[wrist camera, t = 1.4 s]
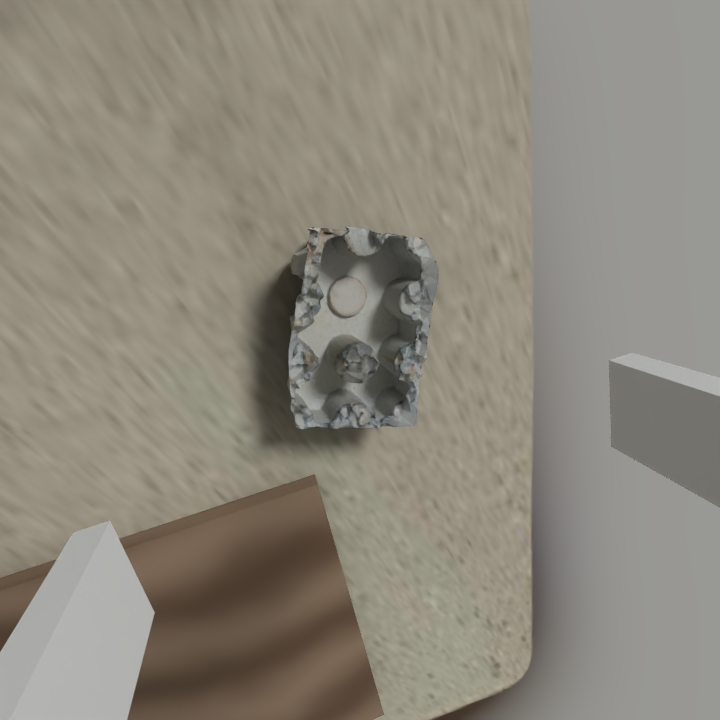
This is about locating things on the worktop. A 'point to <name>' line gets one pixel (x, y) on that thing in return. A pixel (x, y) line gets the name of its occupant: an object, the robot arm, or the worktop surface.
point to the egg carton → (360, 328)
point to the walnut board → (240, 615)
